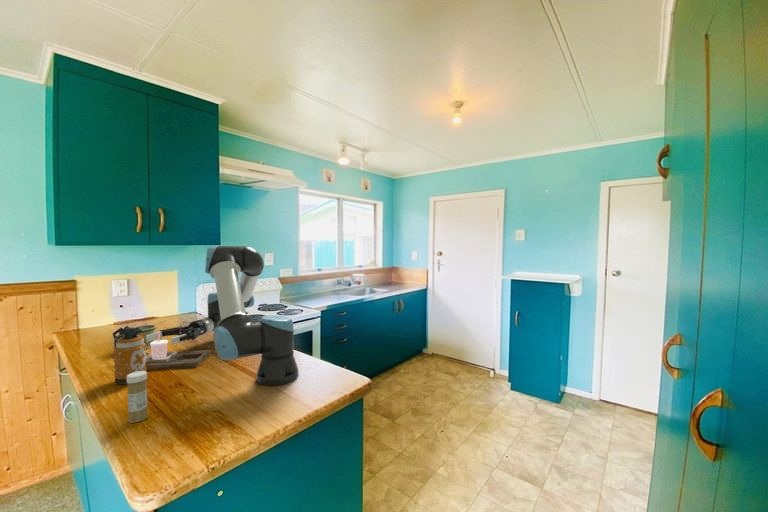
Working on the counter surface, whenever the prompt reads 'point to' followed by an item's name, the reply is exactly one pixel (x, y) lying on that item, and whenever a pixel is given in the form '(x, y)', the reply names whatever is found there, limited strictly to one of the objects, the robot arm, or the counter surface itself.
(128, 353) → the canister
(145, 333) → the ceramic cup
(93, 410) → the counter surface
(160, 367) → the divided serving tray
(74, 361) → the counter surface
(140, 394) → the sprinkles bottle
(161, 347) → the beverage cup
